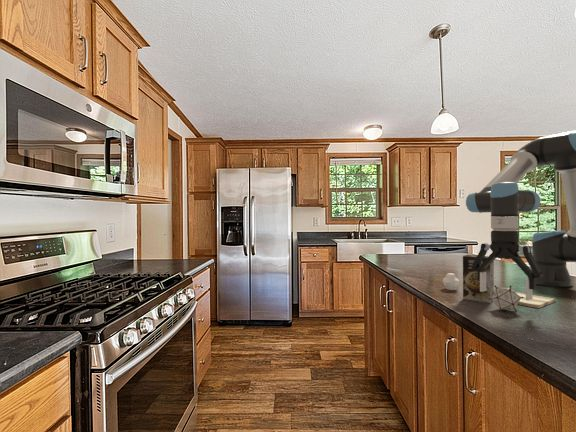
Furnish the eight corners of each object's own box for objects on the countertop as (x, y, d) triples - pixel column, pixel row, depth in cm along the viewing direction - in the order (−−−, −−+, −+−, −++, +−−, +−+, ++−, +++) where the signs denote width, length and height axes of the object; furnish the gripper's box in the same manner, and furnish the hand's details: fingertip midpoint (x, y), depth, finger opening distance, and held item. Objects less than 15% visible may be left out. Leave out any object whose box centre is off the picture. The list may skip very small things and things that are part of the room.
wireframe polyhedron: (506, 320, 108) (517, 294, 110) (521, 319, 100) (533, 290, 102) (479, 305, 110) (491, 280, 112) (492, 303, 102) (504, 275, 104)
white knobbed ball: (441, 289, 136) (440, 273, 136) (445, 287, 141) (445, 270, 141) (457, 291, 132) (457, 274, 132) (461, 289, 137) (460, 272, 137)
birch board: (514, 294, 126) (514, 291, 126) (555, 301, 115) (555, 298, 115) (496, 300, 119) (496, 297, 119) (538, 308, 108) (538, 305, 108)
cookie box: (462, 299, 120) (461, 256, 120) (467, 296, 125) (466, 254, 125) (490, 303, 114) (490, 257, 114) (494, 299, 119) (494, 255, 119)
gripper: (460, 229, 114) (460, 289, 114) (545, 231, 93) (546, 305, 93) (471, 228, 118) (472, 286, 118) (556, 230, 97) (556, 301, 97)
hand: (504, 295), depth 106 cm, fingers open, 13 cm apart
